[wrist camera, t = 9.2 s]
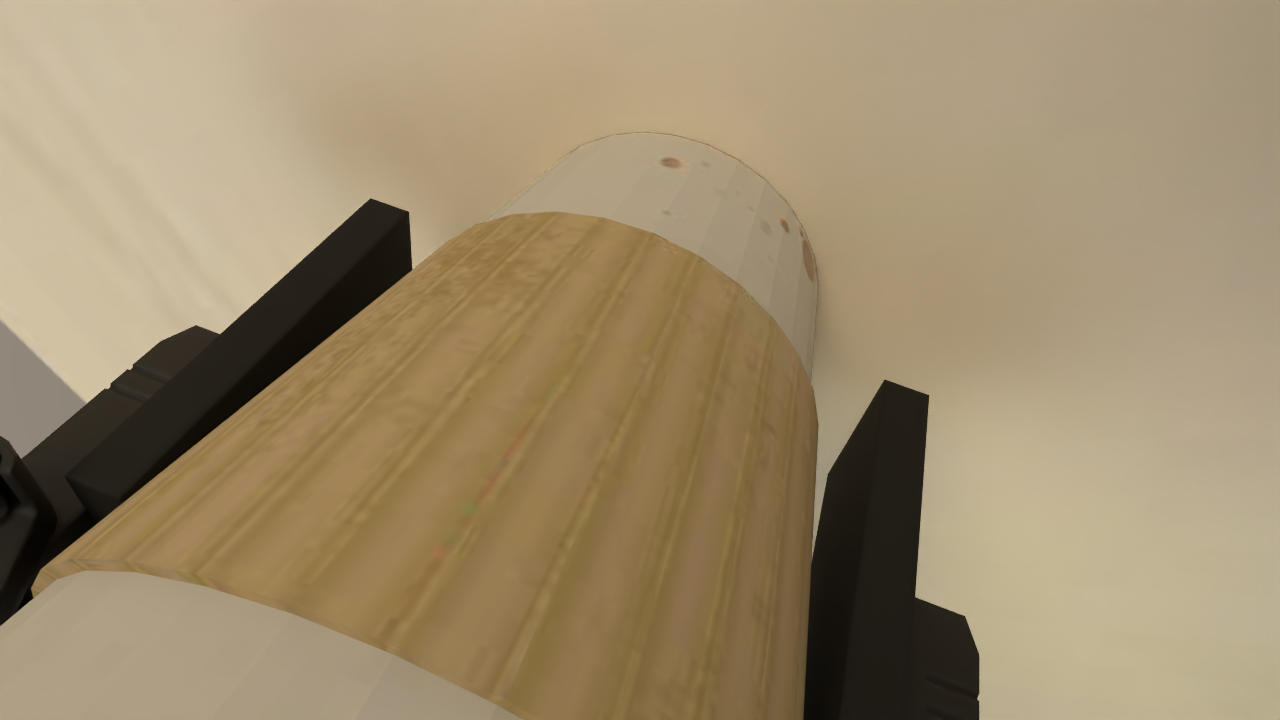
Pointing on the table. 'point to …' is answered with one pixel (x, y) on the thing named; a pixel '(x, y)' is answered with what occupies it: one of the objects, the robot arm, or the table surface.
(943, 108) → the table surface
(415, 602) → the coffee cup
